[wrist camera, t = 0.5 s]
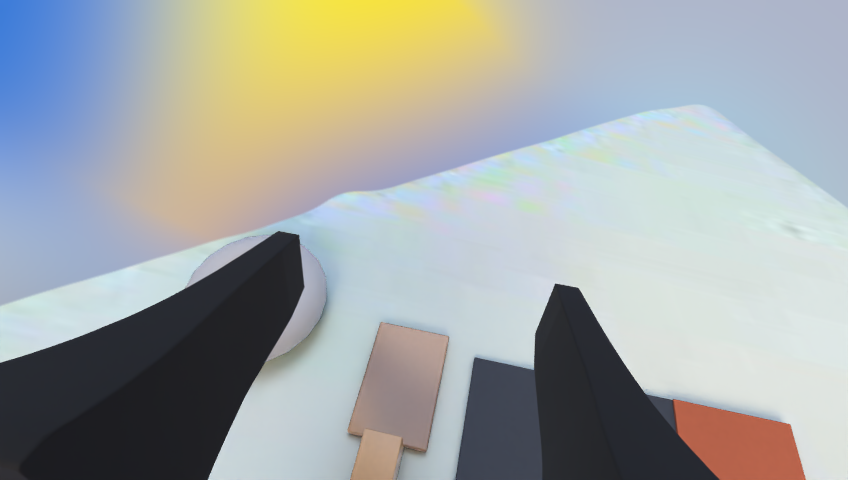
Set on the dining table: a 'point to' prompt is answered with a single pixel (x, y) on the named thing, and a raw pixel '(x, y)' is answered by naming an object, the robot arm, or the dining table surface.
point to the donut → (309, 301)
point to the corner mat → (696, 424)
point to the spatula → (396, 399)
